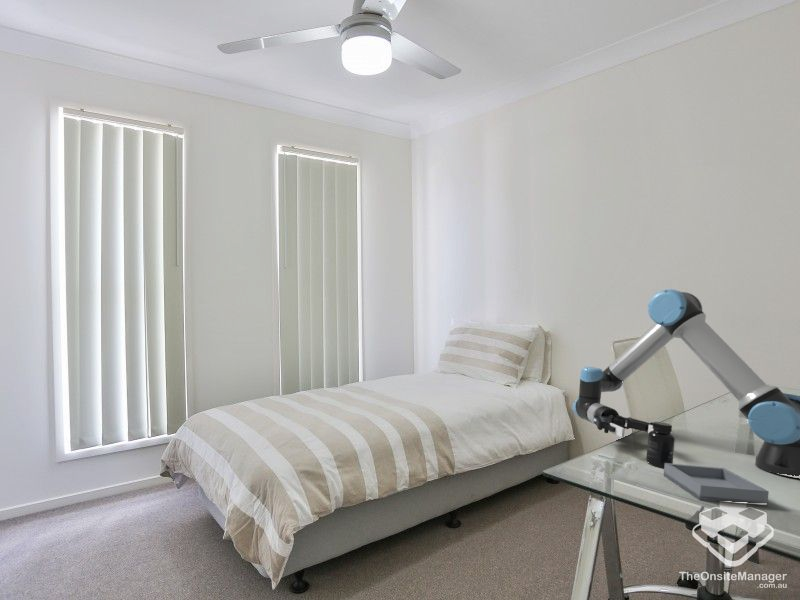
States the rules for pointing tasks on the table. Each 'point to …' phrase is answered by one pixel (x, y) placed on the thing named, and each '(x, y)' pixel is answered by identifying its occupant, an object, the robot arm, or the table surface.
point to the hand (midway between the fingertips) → (643, 433)
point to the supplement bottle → (660, 445)
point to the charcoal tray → (714, 484)
